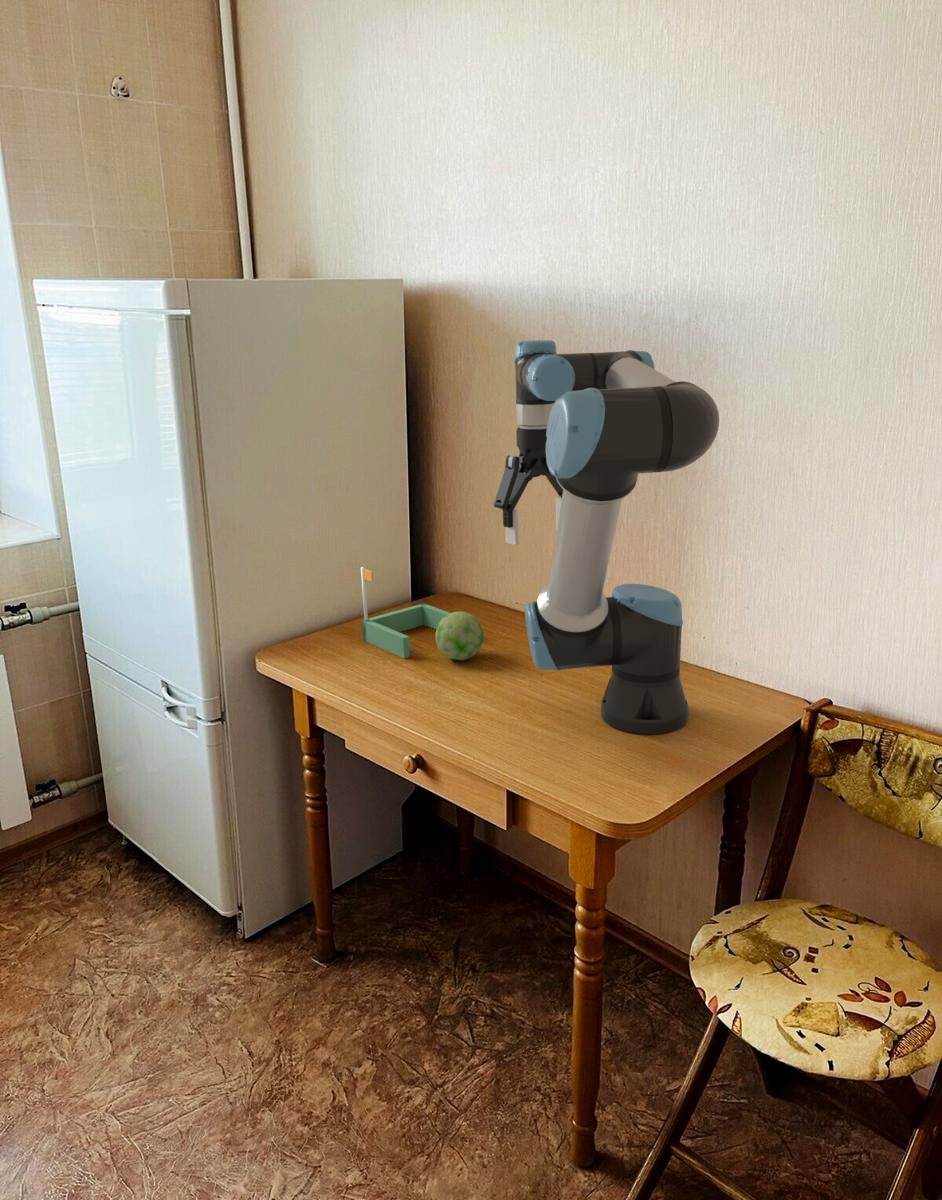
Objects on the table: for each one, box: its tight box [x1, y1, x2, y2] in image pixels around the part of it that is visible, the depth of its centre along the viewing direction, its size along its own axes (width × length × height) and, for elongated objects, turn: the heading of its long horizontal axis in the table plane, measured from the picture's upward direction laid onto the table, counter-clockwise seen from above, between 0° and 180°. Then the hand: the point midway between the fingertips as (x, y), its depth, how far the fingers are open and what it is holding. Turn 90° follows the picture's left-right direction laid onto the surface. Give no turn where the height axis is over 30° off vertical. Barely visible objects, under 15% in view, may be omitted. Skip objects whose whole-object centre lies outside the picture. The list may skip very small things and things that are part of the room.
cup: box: [360, 566, 451, 660], centre depth 206 cm, size 16×17×16 cm
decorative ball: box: [434, 611, 484, 661], centre depth 195 cm, size 10×10×10 cm
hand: (537, 537), depth 184 cm, fingers open, 13 cm apart
